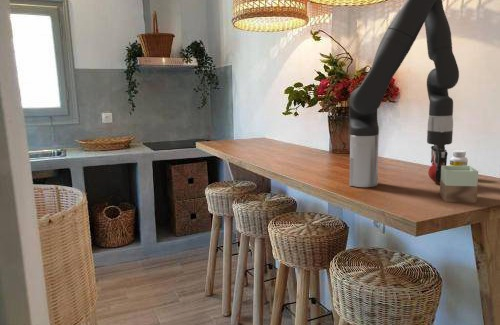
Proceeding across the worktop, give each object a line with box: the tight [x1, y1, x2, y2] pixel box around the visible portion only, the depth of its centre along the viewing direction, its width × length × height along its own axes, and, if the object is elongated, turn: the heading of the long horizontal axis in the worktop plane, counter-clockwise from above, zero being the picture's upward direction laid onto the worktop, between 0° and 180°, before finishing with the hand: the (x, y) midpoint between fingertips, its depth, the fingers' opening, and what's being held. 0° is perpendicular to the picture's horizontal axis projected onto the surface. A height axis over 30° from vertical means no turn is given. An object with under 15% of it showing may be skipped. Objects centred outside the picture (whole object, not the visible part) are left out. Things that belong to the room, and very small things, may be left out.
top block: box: [441, 165, 479, 186], centre depth 114 cm, size 8×8×4 cm
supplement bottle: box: [449, 149, 468, 166], centre depth 138 cm, size 5×5×10 cm
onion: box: [427, 164, 442, 185], centre depth 132 cm, size 6×6×8 cm
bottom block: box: [439, 179, 478, 204], centre depth 115 cm, size 8×8×5 cm
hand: (437, 178), depth 133 cm, fingers closed on onion, 6 cm apart
